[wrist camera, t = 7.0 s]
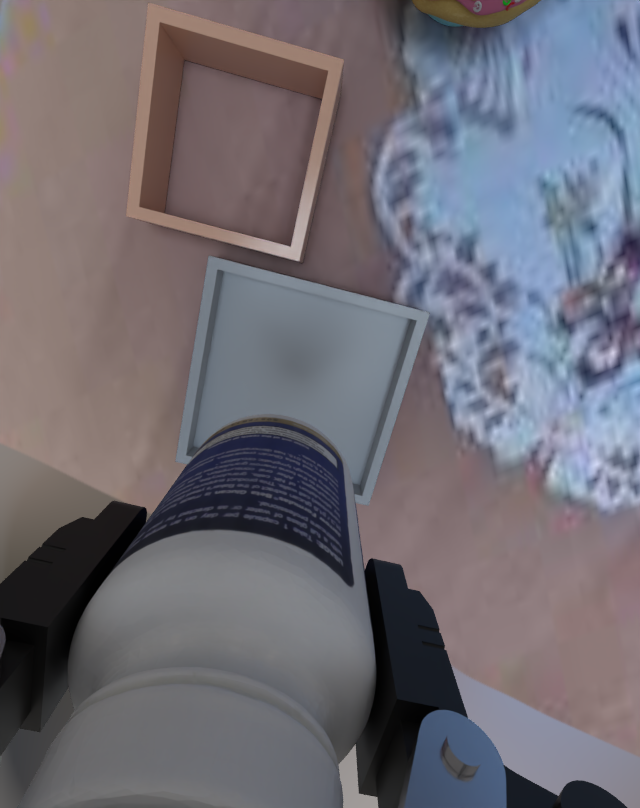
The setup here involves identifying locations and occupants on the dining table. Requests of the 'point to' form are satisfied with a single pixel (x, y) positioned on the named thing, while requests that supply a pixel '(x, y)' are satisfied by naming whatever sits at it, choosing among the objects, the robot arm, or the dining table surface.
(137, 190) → the holder
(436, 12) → the cupcake
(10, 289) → the dining table surface
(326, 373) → the tray
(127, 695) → the pill bottle
